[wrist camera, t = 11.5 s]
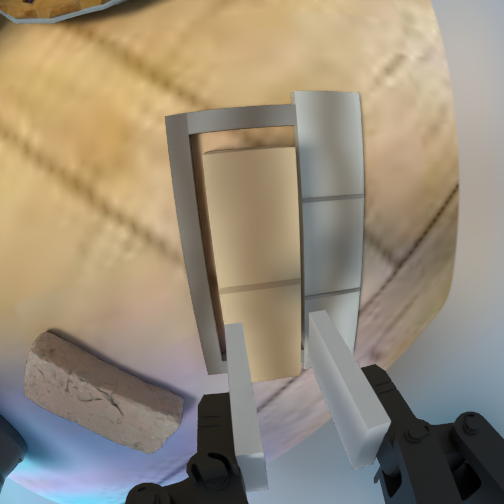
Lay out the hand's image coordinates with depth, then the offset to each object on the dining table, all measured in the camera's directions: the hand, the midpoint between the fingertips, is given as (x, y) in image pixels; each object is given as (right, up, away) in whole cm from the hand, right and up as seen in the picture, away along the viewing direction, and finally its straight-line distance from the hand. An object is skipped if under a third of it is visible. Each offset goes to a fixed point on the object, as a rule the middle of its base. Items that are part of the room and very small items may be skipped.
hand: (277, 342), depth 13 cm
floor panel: (0, +4, +11) cm, 12 cm away
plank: (-1, +4, +11) cm, 12 cm away
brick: (-17, -10, +15) cm, 25 cm away
